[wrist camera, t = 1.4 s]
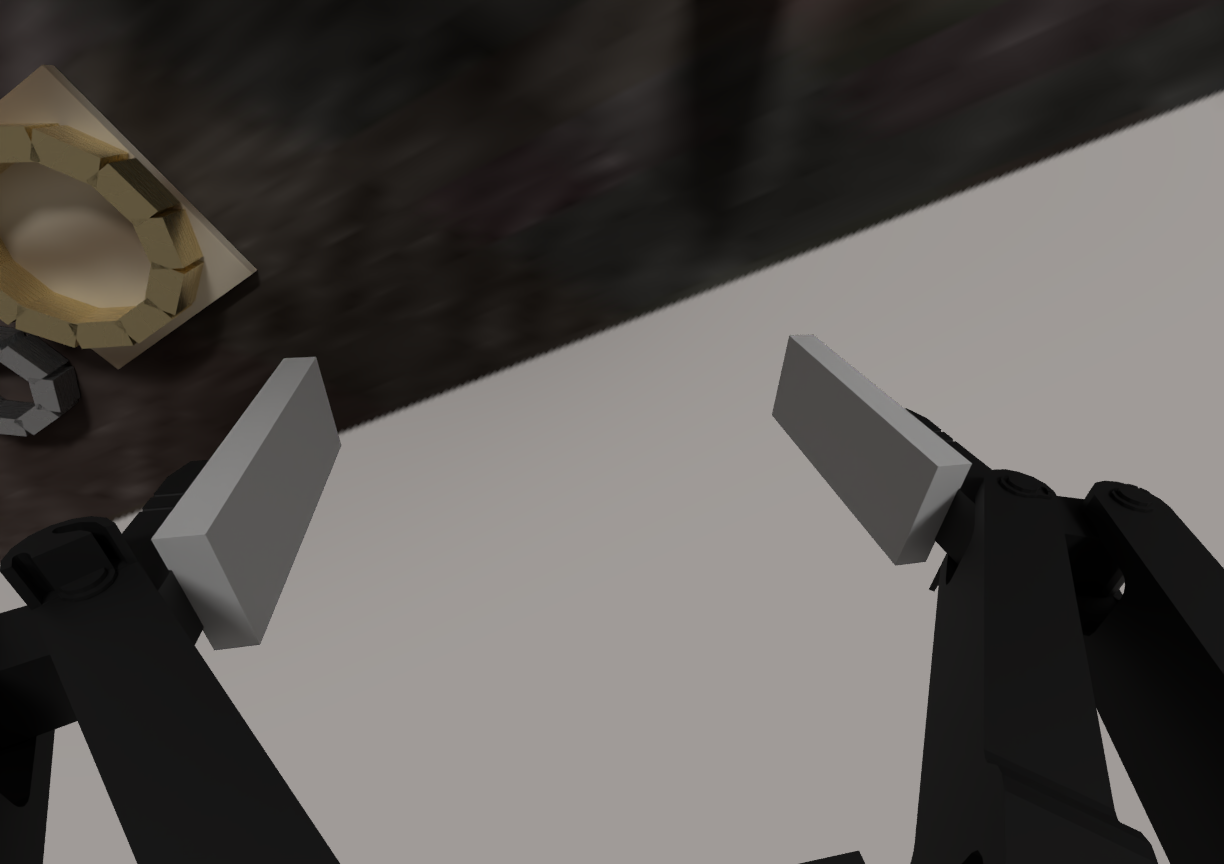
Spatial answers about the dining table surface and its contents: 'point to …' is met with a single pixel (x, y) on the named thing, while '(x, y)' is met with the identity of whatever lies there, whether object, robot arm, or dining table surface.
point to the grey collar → (35, 383)
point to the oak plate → (92, 219)
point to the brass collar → (135, 195)
